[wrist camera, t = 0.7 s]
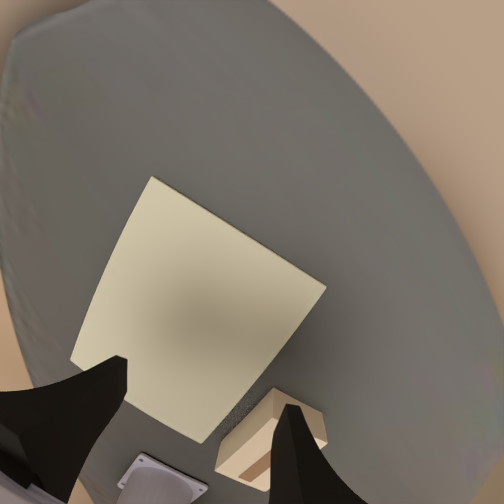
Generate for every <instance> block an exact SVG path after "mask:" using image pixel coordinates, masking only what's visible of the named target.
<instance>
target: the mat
mask: <svg viewBox="0 0 504 504" xmlns="http://www.w3.org/2000/svg"><path fill="white" fill-rule="evenodd" d="M326 288H327V287H326V285H324V284H323V283H321V282H320V281H318V280H316V279H315V278H313V277H312V276H310V275H309V274H307V273H306V272H304V271H302V270H301V269H299V268H298V267H296V266H295V265H293V264H292V263H290V262H288V261H287V260H285V259H284V258H282V257H281V256H279V255H277V254H276V253H274V252H273V251H271V250H270V249H268V248H266V247H265V246H263V245H262V244H260V243H259V242H257V241H255V240H254V239H252V238H251V237H249V236H248V235H246V234H244V233H243V232H241V231H240V230H238V229H237V228H235V227H233V226H232V225H230V224H229V223H227V222H226V221H224V220H222V219H221V218H219V217H218V216H216V215H214V214H213V213H211V212H210V211H208V210H206V209H205V208H203V207H202V206H200V205H199V204H197V203H195V202H194V201H192V200H191V199H189V198H187V197H186V196H184V195H183V194H181V193H179V192H178V191H176V190H175V189H173V188H171V187H170V186H168V185H167V184H165V183H163V182H162V181H160V180H158V179H157V178H155V177H153V176H152V177H151V178H150V180H149V182H148V184H147V186H146V187H145V189H144V191H143V193H142V195H141V197H140V199H139V201H138V202H137V204H136V206H135V208H134V210H133V212H132V214H131V216H130V218H129V220H128V222H127V224H126V226H125V228H124V230H123V232H122V234H121V236H120V238H119V240H118V243H117V245H116V247H115V249H114V251H113V253H112V255H111V258H110V260H109V262H108V264H107V267H106V269H105V271H104V273H103V276H102V278H101V280H100V283H99V285H98V287H97V290H96V292H95V295H94V297H93V299H92V302H91V304H90V307H89V310H88V312H87V315H86V317H85V320H84V323H83V325H82V328H81V331H80V333H79V336H78V339H77V342H76V345H75V347H74V350H73V353H72V356H71V359H70V360H71V361H72V362H73V363H75V364H76V365H77V366H79V367H80V368H81V369H82V370H84V371H86V370H88V369H90V368H92V367H94V366H96V365H97V364H99V363H101V362H103V361H105V360H107V359H109V358H111V357H113V356H115V355H118V356H121V357H123V358H126V359H128V369H127V393H126V395H125V397H124V399H125V400H126V401H128V402H129V403H131V404H132V405H134V406H135V407H137V408H139V409H140V410H142V411H143V412H145V413H147V414H148V415H150V416H152V417H153V418H155V419H157V420H158V421H160V422H162V423H163V424H165V425H167V426H169V427H170V428H172V429H174V430H176V431H178V432H180V433H181V434H183V435H185V436H187V437H189V438H191V439H193V440H195V441H197V442H199V443H201V444H202V442H203V441H204V440H205V439H206V438H207V437H208V436H209V435H210V434H211V433H212V431H213V430H214V429H215V428H216V427H217V426H218V425H219V424H220V422H221V421H222V420H223V419H224V418H225V417H226V416H227V414H228V413H229V412H230V411H231V410H232V409H233V407H234V406H235V405H236V404H237V403H238V402H239V400H240V399H241V398H242V397H243V396H244V394H245V393H246V392H247V391H248V390H249V388H250V387H251V386H252V385H253V384H254V382H255V381H256V380H257V379H258V377H259V376H260V375H261V374H262V372H263V371H264V370H265V369H266V368H267V366H268V365H269V364H270V363H271V361H272V360H273V359H274V357H275V356H276V355H277V354H278V352H279V351H280V350H281V348H282V347H283V346H284V345H285V343H286V342H287V341H288V339H289V338H290V337H291V335H292V334H293V333H294V332H295V330H296V329H297V328H298V326H299V325H300V324H301V322H302V321H303V320H304V318H305V317H306V315H307V314H308V313H309V311H310V310H311V309H312V307H313V306H314V305H315V303H316V302H317V300H318V299H319V298H320V296H321V295H322V293H323V292H324V291H325V289H326Z"/></svg>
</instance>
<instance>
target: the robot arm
mask: <svg viewBox="0 0 504 504" xmlns="http://www.w3.org/2000/svg"><path fill="white" fill-rule="evenodd" d="M127 369H128V359H126V358H123V357H121V356H118V355H115V356H113V357H111V358H109V359H107V360H105V361H103V362H101V363H99V364H97V365H96V366H94V367H92V368H90V369H88V370H86V371H84V372H82V373H79V374H77V375H75V376H73V377H70V378H68V379H65V380H63V381H60V382H57V383H54V384H50V385H47V386H43V387H38V388H33V389H29V390H20V391H7V392H0V504H67V503H68V501H69V498H70V495H71V492H72V489H73V487H74V485H75V482H76V480H77V478H78V475H79V473H80V471H81V469H82V467H83V464H84V462H85V460H86V458H87V456H88V454H89V452H90V451H91V449H92V447H93V445H94V443H95V442H96V440H97V439H98V437H99V436H100V434H101V433H102V432H103V430H104V429H105V427H106V426H107V424H108V423H109V422H110V420H111V419H112V417H113V416H114V415H115V413H116V412H117V410H118V409H119V407H120V405H121V403H122V401H123V399H124V397H125V395H126V393H127ZM117 485H118V487H119V488H121V489H123V490H122V492H121V494H120V496H119V498H118V500H117V502H116V504H191V503H192V502H193V501H194V500H195V499H197V498H198V497H199V496H200V495H202V494H203V493H204V492H205V491H207V490H208V486H207V485H206V484H204V483H202V482H200V481H197V480H195V479H193V478H191V477H189V476H187V475H184V474H182V473H180V472H178V471H176V470H174V469H172V468H170V467H168V466H166V465H164V464H163V463H161V462H159V461H157V460H155V459H153V458H151V457H150V456H148V455H146V454H144V453H140V454H139V455H138V457H137V458H136V459H135V461H134V462H133V463H132V465H131V466H130V467H129V469H128V470H127V472H126V473H125V474H124V476H123V477H122V478H121V480H120V481H119V482H118V484H117ZM269 504H368V503H366V502H365V501H364V500H362V499H361V498H360V497H359V496H358V495H356V494H355V493H354V492H353V491H352V490H351V489H350V488H349V487H348V486H347V485H346V484H345V483H344V482H343V481H342V480H341V478H340V477H339V476H338V475H337V474H336V472H335V471H334V470H333V468H332V467H331V466H330V464H329V463H328V461H327V460H326V458H325V457H324V455H323V454H322V452H321V450H320V448H319V447H318V445H317V443H316V441H315V439H314V437H313V435H312V433H311V431H310V429H309V427H308V424H307V422H306V420H305V417H304V415H303V412H302V410H301V407H300V406H298V405H293V404H288V403H286V404H285V407H284V409H283V411H282V414H281V416H280V418H279V421H278V423H277V425H276V428H275V430H274V432H273V438H272V445H271V457H270V498H269Z"/></svg>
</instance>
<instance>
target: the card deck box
mask: <svg viewBox="0 0 504 504" xmlns="http://www.w3.org/2000/svg"><path fill="white" fill-rule="evenodd" d="M286 403H288V404H293V405H298V406H300V407H301V410H302V412H303V415H304V417H305V420H306V422H307V424H308V427H309V429H310V431H311V433H312V435H313V437H314V439H315V441H316V443H317V445H318V447H319V448H320V449H321V448H322V447H324V446H325V445H326V444H327V437H326V431H325V426H324V420H323V415H322V413H321V412H319V411H317V410H315V409H313V408H311V407H309V406H308V405H306V404H304V403H302V402H300V401H298V400H296V399H294V398H292V397H290V396H289V395H287V394H285V393H283V392H281V391H279V390H277V389H276V388H274V387H273V388H272V389H271V390H270V391H269V392H268V394H267V395H266V396H265V397H264V398H263V399H262V400H261V401H260V402H259V403H258V404H257V405H256V406H255V407H254V409H253V410H252V411H251V412H250V413H249V414H248V415H247V416H246V417H245V418H244V419H243V420H242V421H241V422H240V423H239V424H238V425H237V426H236V427H235V428H234V429H233V430H232V431H231V432H230V433H229V434H228V435H227V436H226V437H225V438H224V439H223V440H222V441H221V444H220V448H219V453H218V457H217V461H216V466H215V470H214V471H216V472H218V473H220V474H223V475H225V476H227V477H229V478H232V479H234V480H236V481H239V482H241V483H244V484H246V485H249V486H251V487H254V488H256V489H259V490H262V491H264V492H265V491H267V490H268V489H270V457H271V445H272V438H273V432H274V430H275V428H276V425H277V423H278V421H279V418H280V416H281V414H282V411H283V409H284V407H285V404H286Z"/></svg>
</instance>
